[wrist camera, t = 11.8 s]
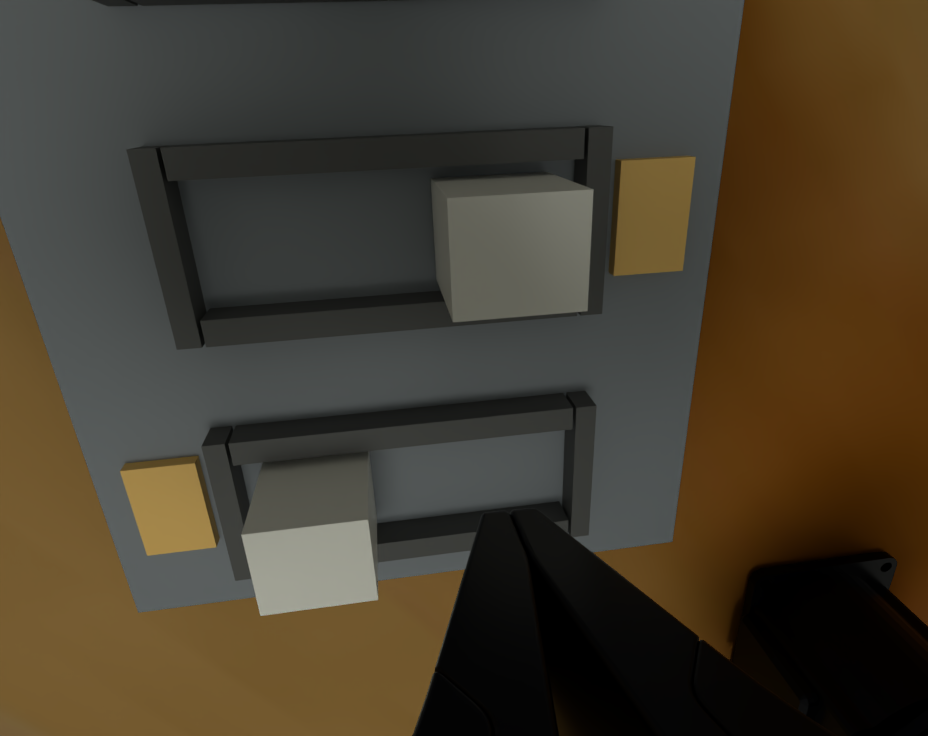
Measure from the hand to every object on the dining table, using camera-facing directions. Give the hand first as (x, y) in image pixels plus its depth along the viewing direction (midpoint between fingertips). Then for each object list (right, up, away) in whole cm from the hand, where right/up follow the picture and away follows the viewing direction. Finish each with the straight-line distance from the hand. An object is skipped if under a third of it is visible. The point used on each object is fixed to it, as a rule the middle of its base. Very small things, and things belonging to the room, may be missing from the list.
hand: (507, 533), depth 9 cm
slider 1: (-5, -1, +9) cm, 10 cm away
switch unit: (-3, +7, +8) cm, 11 cm away
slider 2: (0, +6, +6) cm, 9 cm away
